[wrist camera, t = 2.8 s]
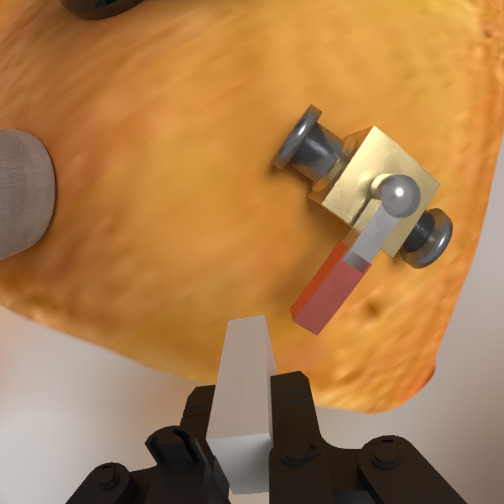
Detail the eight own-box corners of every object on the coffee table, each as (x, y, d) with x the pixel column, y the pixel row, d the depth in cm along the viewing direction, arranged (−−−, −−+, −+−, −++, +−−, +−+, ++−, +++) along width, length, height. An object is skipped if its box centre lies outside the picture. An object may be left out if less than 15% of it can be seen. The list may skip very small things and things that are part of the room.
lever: (383, 165, 24) (398, 165, 21) (410, 189, 24) (427, 192, 21) (285, 304, 27) (289, 320, 24) (315, 322, 27) (321, 339, 24)
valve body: (265, 168, 32) (268, 167, 24) (308, 106, 30) (323, 88, 22) (396, 262, 34) (428, 286, 26) (433, 206, 32) (472, 217, 25)
